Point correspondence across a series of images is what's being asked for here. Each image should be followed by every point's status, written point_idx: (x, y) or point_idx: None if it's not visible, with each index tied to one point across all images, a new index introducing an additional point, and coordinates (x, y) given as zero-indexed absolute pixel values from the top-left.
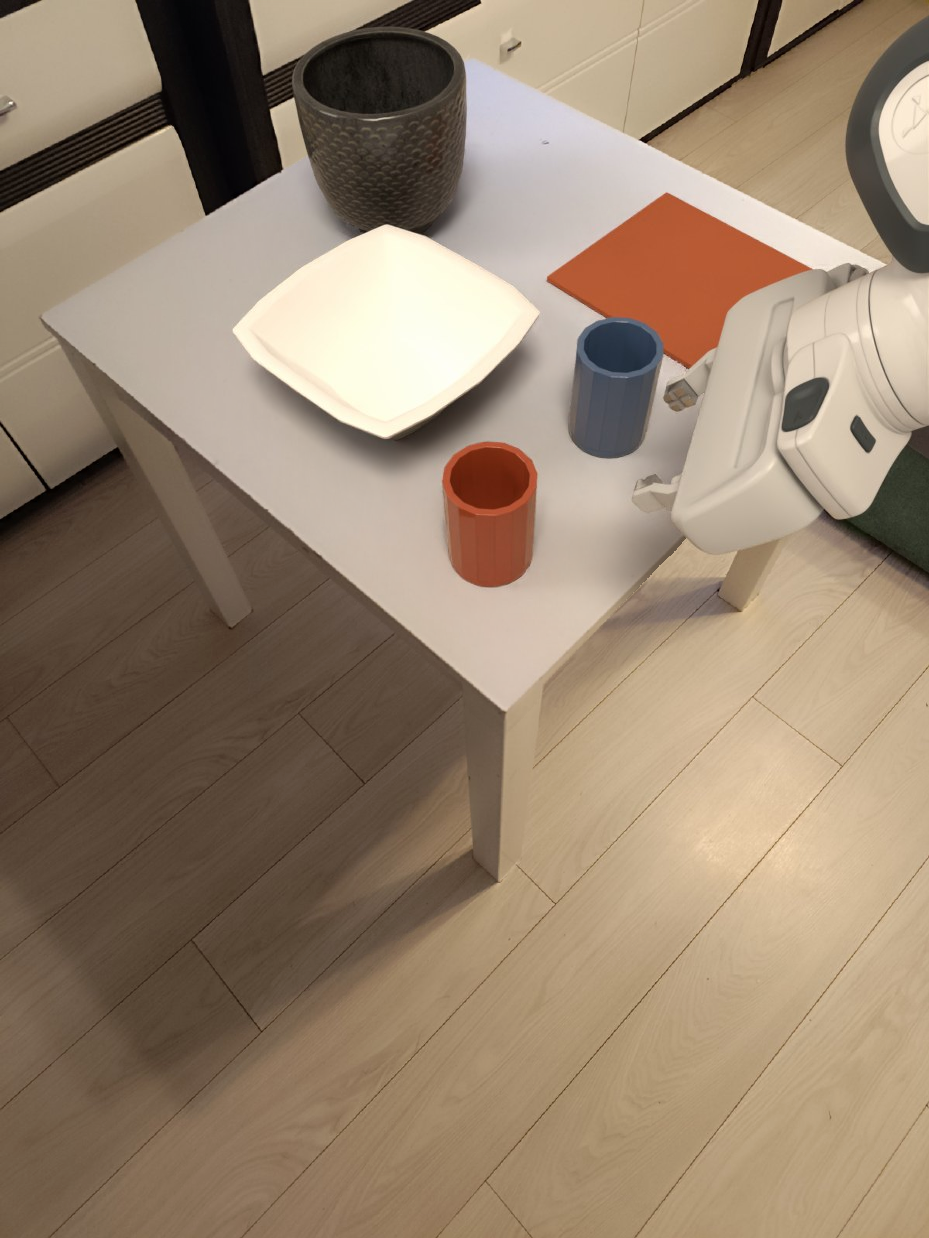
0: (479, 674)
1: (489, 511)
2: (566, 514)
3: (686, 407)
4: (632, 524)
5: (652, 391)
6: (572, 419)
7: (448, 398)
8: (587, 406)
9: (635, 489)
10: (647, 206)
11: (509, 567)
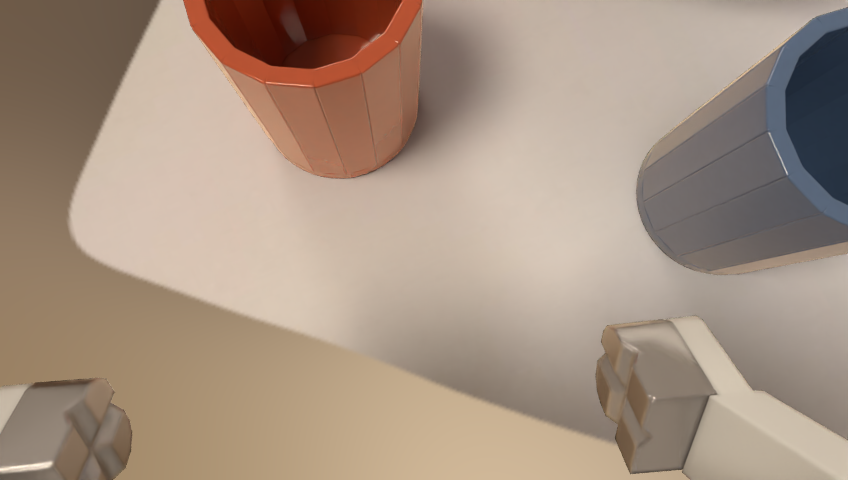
0: (90, 184)
1: (197, 10)
2: (479, 199)
3: (617, 431)
4: (510, 324)
5: (807, 253)
6: (683, 120)
7: None
8: (698, 127)
9: (29, 389)
10: None
11: (274, 142)
